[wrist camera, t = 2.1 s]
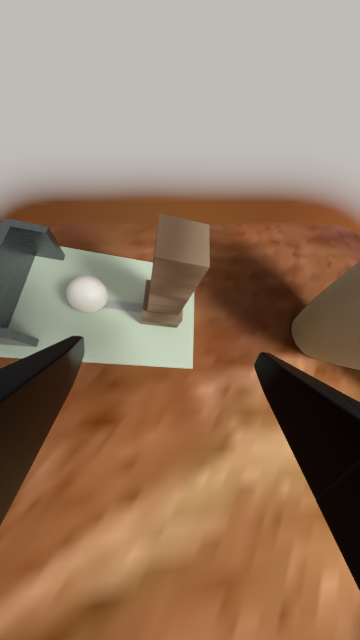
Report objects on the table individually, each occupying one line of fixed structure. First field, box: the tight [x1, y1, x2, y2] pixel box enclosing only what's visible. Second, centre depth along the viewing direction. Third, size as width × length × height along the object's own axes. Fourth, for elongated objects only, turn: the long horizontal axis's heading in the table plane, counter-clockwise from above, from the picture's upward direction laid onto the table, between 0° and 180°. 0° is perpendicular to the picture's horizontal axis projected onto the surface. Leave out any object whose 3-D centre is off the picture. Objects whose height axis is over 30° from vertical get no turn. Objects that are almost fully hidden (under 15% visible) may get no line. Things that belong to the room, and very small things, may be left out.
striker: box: [141, 213, 210, 328], centre depth 17 cm, size 4×4×12 cm
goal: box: [0, 218, 65, 347], centre depth 18 cm, size 4×12×4 cm, turn 177°
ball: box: [66, 276, 108, 313], centre depth 19 cm, size 4×4×4 cm
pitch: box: [0, 246, 194, 369], centre depth 22 cm, size 21×14×1 cm, turn 87°
